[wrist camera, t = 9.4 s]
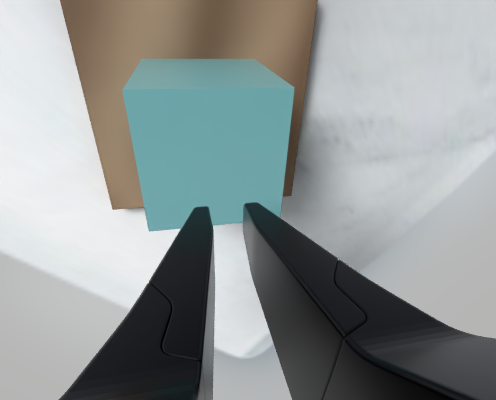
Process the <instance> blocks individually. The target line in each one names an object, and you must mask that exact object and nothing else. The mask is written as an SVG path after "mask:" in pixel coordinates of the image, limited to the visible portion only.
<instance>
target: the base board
mask: <svg viewBox="0 0 496 400" xmlns="http://www.w3.org/2000/svg"><path fill="white" fill-rule="evenodd" d="M60 2H61V6H62V10H63V14H64V18H65V22H66V26H67V30H68V34H69V38H70V42H71V46H72V50H73V54H74V58H75V62H76V66H77V70H78V74H79V78H80V82H81V86H82V90H83V93H84V97H85V101H86V105H87V109H88V113H89V117H90V121H91V125H92V129H93V133H94V137H95V141H96V145H97V149H98V153H99V157H100V161H101V165H102V169H103V173H104V177H105V181H106V185H107V189H108V193H109V197H110V201H111V205H112V209H113V210H114V209H127V208H140V207H144V203H143V197H142V192H141V187H140V181H139V176H138V171H137V165H136V160H135V155H134V149H133V144H132V139H131V133H130V128H129V123H128V118H127V112H126V107H125V102H124V96H123V91H122V89H123V88H124V86H125V85H126V83H127V81H128V80H129V78H130V77H131V75H132V73H133V72H134V70H135V69H136V67H137V66H138V64H139V62H140V61H141V59H255V60H257V61H258V62H260V63H261V64H262V65H264V66H265V67H267V68H268V69H269V70H271V71H272V72H274V73H275V74H276V75H278V76H279V77H281V78H282V79H283V80H285V81H286V82H288V83H289V84H290V85H292V86H293V87H295V88H294V97H293V106H292V115H291V124H290V133H289V142H288V151H287V160H286V169H285V178H284V187H283V197H284V196H291V193H292V185H293V178H294V171H295V163H296V156H297V148H298V141H299V133H300V126H301V119H302V111H303V104H304V96H305V89H306V81H307V74H308V67H309V59H310V52H311V44H312V37H313V29H314V22H315V15H316V7H317V0H60Z"/></svg>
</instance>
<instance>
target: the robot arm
mask: <svg viewBox="0 0 496 400" xmlns="http://www.w3.org/2000/svg"><path fill="white" fill-rule="evenodd" d="M243 233H244V239H245V244H246V249H247V255H248V260H249V265H250V270H251V275H252V278H253V282H254V285H255V288H256V291H257V294H258V297H259V300H260V303H261V306H262V309H263V312H264V315H265V318H266V321H267V324H268V327H269V330H270V333H271V336H272V340H273V343H274V346H275V349H276V352H277V355H278V357H279V361H280V364H281V367H282V370H283V373H284V376H285V379H286V382H287V385H288V388H289V391H290V394H291V397H292V400H496V339H494V338H487V337H481V336H476V335H472V334H468V333H465V332H462V331H459V330H457V329H454V328H452V327H449V326H448V325H446V324H444V323H442V322H440V321H438V320H436V319H435V318H433V317H431V316H429V315H428V314H426V313H424V312H423V311H421V310H419V309H418V308H416V307H414V306H412V305H410V304H409V303H407V302H406V301H404V300H402V299H400V298H399V297H397V296H395V295H394V294H392V293H390V292H389V291H387V290H385V289H383V288H382V287H380V286H379V285H377V284H375V283H374V282H372V281H370V280H369V279H367V278H366V277H364V276H362V275H361V274H360V273H358V272H357V271H355V270H354V269H352V268H351V267H349V266H348V265H347V264H345V263H344V262H342V261H341V260H338V259H337V258H336V257H335V256H334V255H332V254H331V253H329V252H328V251H326V250H325V249H324V248H322V247H321V246H319V245H318V244H316V243H315V242H314V241H312V240H311V239H309V238H308V237H306V236H305V235H304V234H302V233H301V232H299V231H298V230H297V229H295V228H294V227H292V226H291V225H289V224H288V223H287V222H285V221H284V220H282V219H281V218H279V217H278V216H277V215H275V214H274V213H272V212H271V211H269V210H268V209H267V208H265V207H264V206H262V205H261V204H259V203H258V202H252V203H245V204H244V207H243ZM214 314H215V266H214V236H213V225H212V220H211V215H210V210H209V207H207V206H202V207H195V208H194V209H193V210H192V212H191V214H190V215H189V217H188V219H187V220H186V222H185V223H184V225H183V227H182V228H181V230H180V232H179V233H178V235H177V237H176V238H175V240H174V241H173V243H172V245H171V246H170V248H169V250H168V251H167V253H166V254H165V256H164V258H163V259H162V261H161V263H160V264H159V266H158V267H157V269H156V271H155V272H154V274H153V276H152V277H151V279H150V281H149V283H148V284H147V285H146V287H145V288H144V290H143V292H142V293H141V295H140V297H139V298H138V300H137V301H136V303H135V304H134V306H133V307H132V309H131V310H130V312H129V313H128V314H127V316H126V317H125V319H124V320H123V321H122V322H121V324H120V325H119V326H118V328H117V329H116V330H115V331H114V333H113V334H112V335H111V336H110V338H109V339H108V340H107V342H106V343H105V344H104V345H103V347H102V348H101V349H100V350H99V352H98V353H97V354H96V355H95V357H94V358H93V359H92V360H91V362H90V363H89V364H88V365H87V367H86V368H85V369H84V370H83V372H82V373H81V374H80V375H79V377H78V378H77V379H76V380H75V382H74V383H73V384H72V386H71V387H70V388H69V389H68V390H67V391H66V393H65V394H64V395H63V396H62V397H61V398H60V399H59V400H213V357H214Z"/></svg>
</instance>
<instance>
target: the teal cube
mask: <svg viewBox="0 0 496 400" xmlns="http://www.w3.org/2000/svg"><path fill="white" fill-rule="evenodd" d="M294 88H295V87H293V86H292V85H290V84H289V83H288V82H286V81H285V80H283V79H282V78H281V77H279V76H278V75H276V74H275V73H274V72H272V71H271V70H269V69H268V68H267V67H265V66H264V65H262V64H261V63H260V62H258V61H257V60H255V59H141V61H140V62H139V64H138V66H137V67H136V69H135V70H134V72H133V73H132V75H131V77H130V78H129V80H128V81H127V83H126V85H125V86H124V88H123V89H122V91H123V96H124V102H125V107H126V112H127V118H128V123H129V128H130V133H131V139H132V144H133V149H134V155H135V160H136V165H137V171H138V176H139V181H140V187H141V192H142V197H143V203H144V208H145V213H146V219H147V224H148V229H149V231H158V230H169V229H179V228H182V227H183V225H184V223H185V222H186V220H187V219H188V217H189V215H190V214H191V212H192V210H193V209H194V208H195V207H202V206H207V207H209V210H210V215H211V220H212V225H222V224H232V223H243V207H244V204H245V203H252V202H258V203H259V204H261V205H262V206H264V207H265V208H267V209H268V210H269V211H271V212H272V213H274V214H275V215H277V216H278V217H279V218H280V215H281V206H282V197H283V187H284V178H285V169H286V160H287V151H288V142H289V133H290V124H291V115H292V106H293V97H294Z"/></svg>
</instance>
